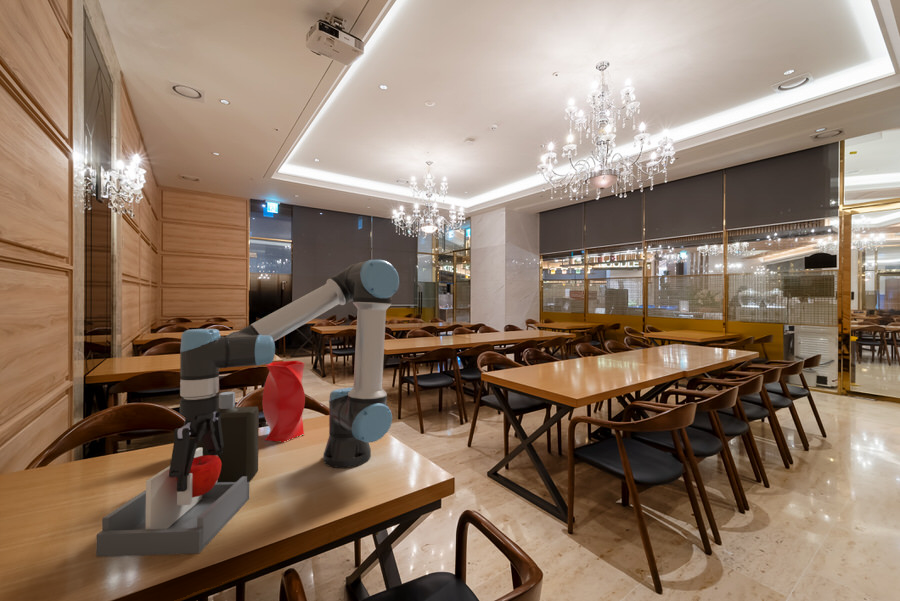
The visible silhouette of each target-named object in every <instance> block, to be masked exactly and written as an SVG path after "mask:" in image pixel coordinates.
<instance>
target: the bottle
mask: <svg viewBox="0 0 900 601" xmlns="http://www.w3.org/2000/svg"><path fill="white" fill-rule="evenodd" d="M215 412H221V427H222V435H223V443H224V447H223V448H222V449H220V450H223V452H222V454H218V457H219V458H220V460H221V464H222V465H221V471H220V475H219V478H218V480H217V482H237V481H238V480H239V479H240V478H241V477H242V476H247V482H249V483H251V481H252V480H253V478H254V477H255V476H256V474H257V473H258V472H259V424H260V423H259V419H260V418H259V417H260V416H259V415H260V411H259V407H258V406H239V407H238V406H236V392H234V391H225V392H224V391H223V392H220V394H219V408H218V410H217V411H215ZM218 444H219V443H218ZM197 448H203V456H205V455H209V454H207V452H206V449H205V447H204V444H203V441H202V438H201V441H200V442H199V443H198V444H197ZM197 448H196V449H197Z"/></svg>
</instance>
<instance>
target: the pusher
mask: <svg viewBox="0 0 900 601" xmlns="http://www.w3.org/2000/svg"><path fill="white" fill-rule="evenodd" d="M199 456H203V448H197V449H196V452H195V455H194V458H196V457H199ZM169 471H170V465H168V466H167V467H166V468H164V469H162V470H161V471H159V472H157V473H156V474H154V475H153V476H151V477H150V478H148V479H146V481H145V490H146V529H167V528H169V527H170V526H171V525H172V524H173V523H174V522H176V521H177V520H178V519H179V518H180V517H181V516H183V515H184V514H185V513H186V512H187V511H188V510H189V509H191V508H192V507H193V506H194V505H195V504H196V503H198V502H199V501H200V500H201V499H202V495H200V496H197V497H193V498H192V503H191V504H190V505H177V481H176V477H169Z"/></svg>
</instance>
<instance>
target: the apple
mask: <svg viewBox="0 0 900 601" xmlns="http://www.w3.org/2000/svg"><path fill="white" fill-rule="evenodd" d="M221 465H222V464H221V460H220V458H219V457H218V456H215V455H205V456H199V457H196V458H194V459H193V463H192V466H191V470H190V473H192V498H193V497H197V496H200V495H203V494H205V493H207V492H209V491H210V490H211V489H212V488H213V487H214V485H215V483H216V482H217V480H218V478H219V475H220V471H221ZM176 481H177V477H176Z"/></svg>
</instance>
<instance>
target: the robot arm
mask: <svg viewBox="0 0 900 601" xmlns="http://www.w3.org/2000/svg"><path fill="white" fill-rule="evenodd" d="M399 286H400V277H399V273H398V271H397V269H396V268H395V267H394V265H393V264H391V263H390V262H389V261H387V260H385V259H384V260H383V259H369V260H365V261H362V262H356V263H353V264H351V265H350V266H347V267H346V268H345V269H343V270H342V271H340V272H339V273H337V274H335V275H333V276H332V277H330V278H328V279H327V280H326V283H325V284H323V285H322V286H320V287H318V288H316V289H314V290H312V291H310V292H309V293H307V294H304V295H303V296H300V297H299V298H298V299H296V300H294V301H292V302H290V303H288V304H286V305H285V306H283V307H281V308H279V309H277V310H275V311H273V312H272V313H269V314H267V315H266V316H264V317H262V318H259V320H256V321H255V322H253V323H251V324H249V325H248V326H245V327H243V328H242V329H239V330H238V331H237V330H236V331H232V332H231V333H229V334H227V335H226V336H221V334H220V330H219V329H216V328H196V329H195V328H194V329H193V328H192V329H187V330H184V331H183V332H182V333H181V336H180V337H181V338H180V349H179V350H180V355H179V357H180V358H179V361H180V362H179V363H180V366H179V367H180V368H179V371H180V372H179V377H180V382H179V385H180V387H179V395H180V397H181V398H180V399H179V414H180V416H182V417H184V418H185V419H184V423H183V426H181V427H180V428H179V427H177V428H175V429H174V431H173V440H174V441H173V448H172V453H171V458H170V459H171V460H170V464H169V466H170V471H169V477H177V505H190V504H191V503H192V473H190V470H191V466H192V463H193V459H194V455H195V452H196V448H197V444H198V443H199V442H200V441H201V438H202V441H203V444H204V447H205V449H206V452H207V454H209V455H215V456H218V454H222V452H223V450H220V449H222V448H223V447H224V443H223V435H222V427H221V412H215V411H217V410H218V408H219V395H218V394H216V393H218V392H220V369H227V368H236V367H237V368H238V367H239V368H240V367H251V366H257V367H258V366H261V365H268V364H270V363H273V362H274V358H275V354H276V345H275V344H276V343H275V342H276V341H277V340H280V339H281V338H283V337H284V336H286V335H288V334H290V333H291V332H293V331H295V330H297V329H298V328H300V327H302V326H304V325H305V324H307V323H308V322H311V321H312V320H314V319H315V318H317V317H320V316H321V315H323V314H324V313H326V312H327V311H330V310H331V309H332V308H334V307H337V306H338V305H340V306H344V305H346V304H348V303H350V302H352V304H353V305H354V307H356V309H357V317H356V332H355V335H356V336H355V351H354V368H353V370H354V372H353V386H352V387H345V388H344V387H343V388H337V389H334V390H332V391H331V392H330V394H329V400H328V404H329V408H328V409H329V411H328V413H329V414H328V415H329V420H328V421H329V423H328V426H329V431H328V432H329V433H328V439H327V441H326V446H325V448H324V451H323V454H322V455H323V463H324V464H325V465H326V466H329V467H332V468H336V469H337V468H339V469H344V468H353V467H356V466H359V465H362V464H364V463H366V462H368V461H369V460H370V459H371V456H372V454H371V453H372V448H371V446H370V443H375V442H377V441H379V440H381V439H382V438H383V437H384V436H385V435H386V434H387V433H388V432H389V430H390V429H391V426H392V423H393V422H392V421H393V414H392V410H391V409H390V407H389V406H388V405H387V400H388V398H387V397H388V396H387V395H388V394H387V392H386V391H385V389H384V388H383V376H384V357H385V356H384V355H385V338H386V337H385V336H386V321H387V310H388V309H389V308H390V307H392V300H393V299H392V297H393V295H394V294H396V292H397V291H398V290H399ZM218 443H219V444H218Z"/></svg>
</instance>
